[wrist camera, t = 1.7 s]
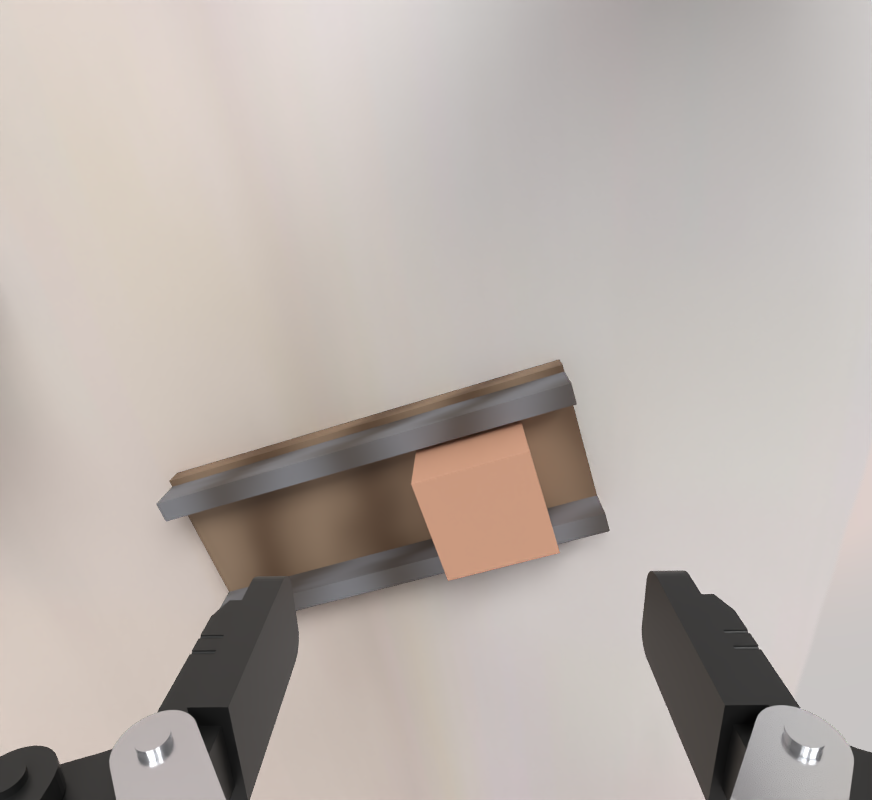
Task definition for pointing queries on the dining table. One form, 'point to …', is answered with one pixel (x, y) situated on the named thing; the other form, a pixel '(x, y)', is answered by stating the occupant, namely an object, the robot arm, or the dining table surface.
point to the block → (483, 501)
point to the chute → (375, 490)
